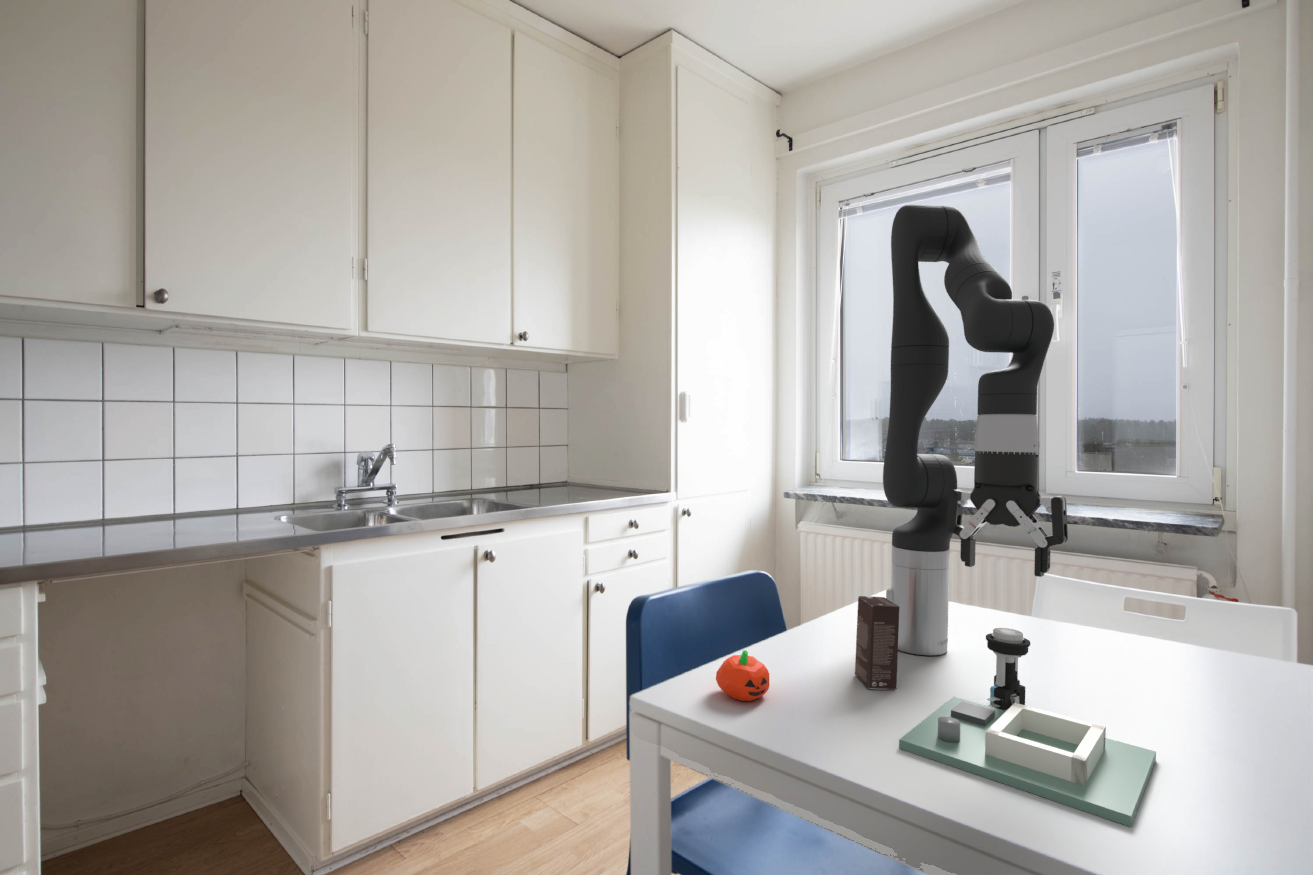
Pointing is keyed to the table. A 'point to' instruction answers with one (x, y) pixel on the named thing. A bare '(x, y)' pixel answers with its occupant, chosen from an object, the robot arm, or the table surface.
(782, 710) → the table surface
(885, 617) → the box
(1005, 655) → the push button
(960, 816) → the table surface
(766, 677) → the pumpkin
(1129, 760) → the board
